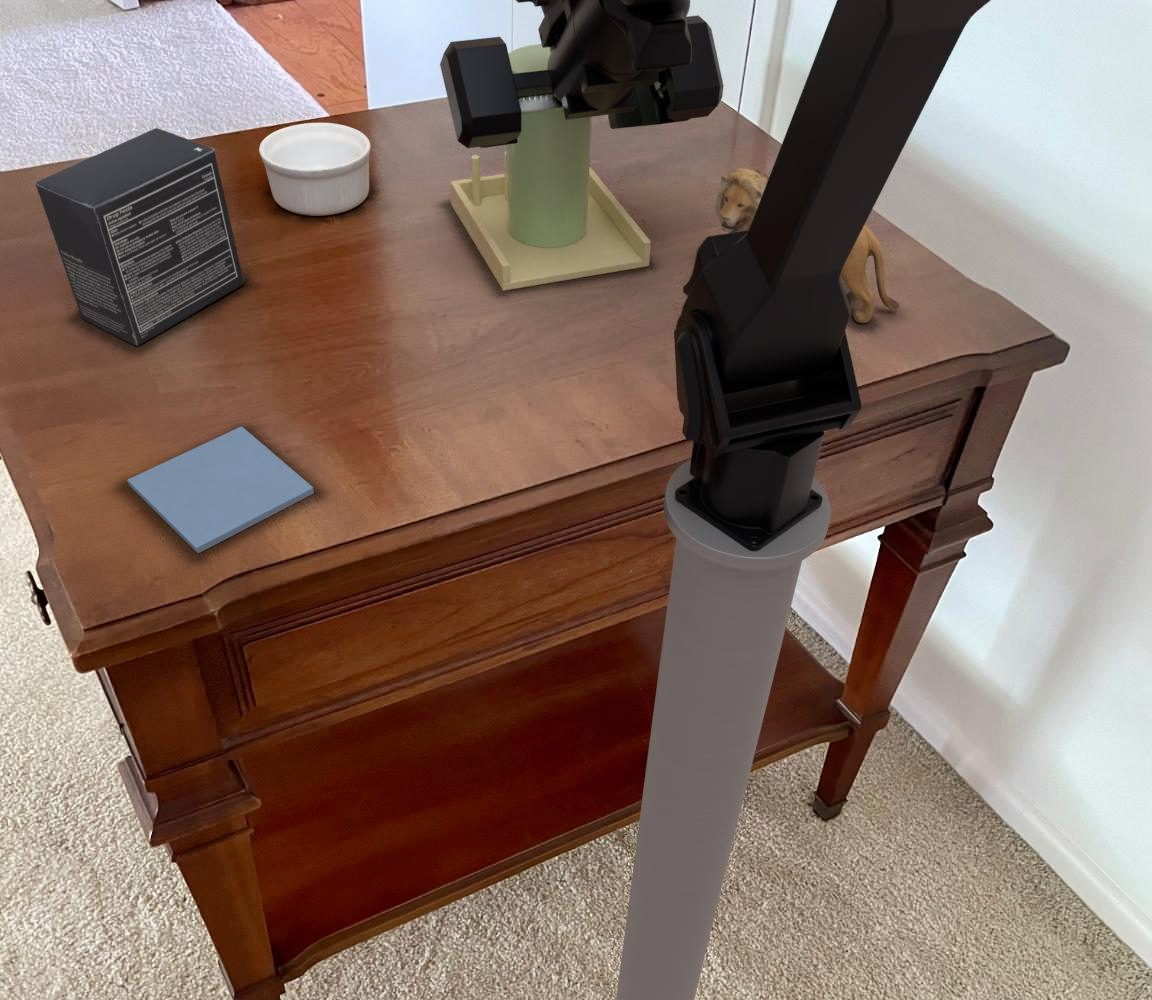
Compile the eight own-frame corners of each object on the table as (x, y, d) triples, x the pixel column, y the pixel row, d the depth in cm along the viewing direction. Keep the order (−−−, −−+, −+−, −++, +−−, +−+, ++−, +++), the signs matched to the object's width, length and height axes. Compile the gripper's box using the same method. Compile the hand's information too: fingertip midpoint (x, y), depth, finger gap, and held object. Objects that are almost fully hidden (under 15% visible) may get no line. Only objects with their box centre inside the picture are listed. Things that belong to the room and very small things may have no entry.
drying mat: (314, 493, 69) (313, 487, 68) (197, 554, 65) (195, 548, 65) (243, 431, 73) (241, 425, 72) (128, 485, 69) (126, 479, 68)
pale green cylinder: (603, 230, 91) (612, 63, 82) (544, 256, 88) (546, 86, 78) (549, 200, 94) (552, 36, 85) (490, 225, 91) (486, 58, 82)
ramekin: (267, 174, 97) (258, 123, 94) (371, 168, 98) (366, 118, 95) (268, 225, 91) (258, 173, 88) (379, 217, 92) (374, 166, 89)
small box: (188, 257, 87) (155, 122, 80) (248, 284, 85) (221, 147, 77) (75, 318, 81) (28, 177, 73) (137, 349, 79) (95, 207, 71)
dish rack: (649, 266, 88) (654, 211, 85) (503, 291, 85) (502, 234, 82) (585, 185, 97) (587, 132, 94) (451, 205, 94) (448, 151, 91)
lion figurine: (698, 295, 86) (712, 182, 79) (713, 261, 89) (728, 150, 83) (893, 331, 83) (924, 217, 77) (901, 295, 87) (931, 182, 80)
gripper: (727, -117, 71) (645, 8, 86) (439, -95, 66) (406, 33, 81) (765, 62, 72) (677, 154, 87) (483, 96, 67) (442, 188, 82)
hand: (553, 129), depth 84 cm, fingers open, 9 cm apart
